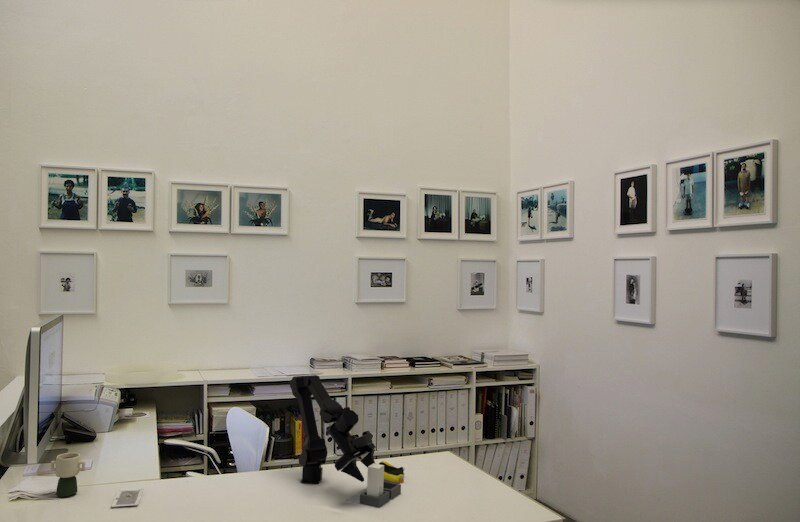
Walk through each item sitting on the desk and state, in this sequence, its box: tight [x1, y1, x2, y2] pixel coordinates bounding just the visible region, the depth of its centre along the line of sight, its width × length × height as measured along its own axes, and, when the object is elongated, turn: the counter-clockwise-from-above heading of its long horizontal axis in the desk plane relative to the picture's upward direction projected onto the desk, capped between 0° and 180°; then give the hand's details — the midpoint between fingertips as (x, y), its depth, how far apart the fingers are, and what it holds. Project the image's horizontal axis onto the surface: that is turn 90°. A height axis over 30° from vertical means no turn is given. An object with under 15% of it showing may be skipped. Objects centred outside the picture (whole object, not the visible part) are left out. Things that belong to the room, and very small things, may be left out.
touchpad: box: [110, 488, 145, 508], centre depth 205 cm, size 8×15×2 cm, turn 15°
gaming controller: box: [378, 460, 406, 484], centre depth 232 cm, size 15×6×10 cm
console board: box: [345, 481, 402, 509], centre depth 213 cm, size 13×16×4 cm
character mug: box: [50, 452, 86, 498], centre depth 207 cm, size 11×7×13 cm, turn 95°
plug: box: [366, 462, 384, 497], centre depth 207 cm, size 4×4×12 cm
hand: (370, 477), depth 209 cm, fingers open, 9 cm apart
